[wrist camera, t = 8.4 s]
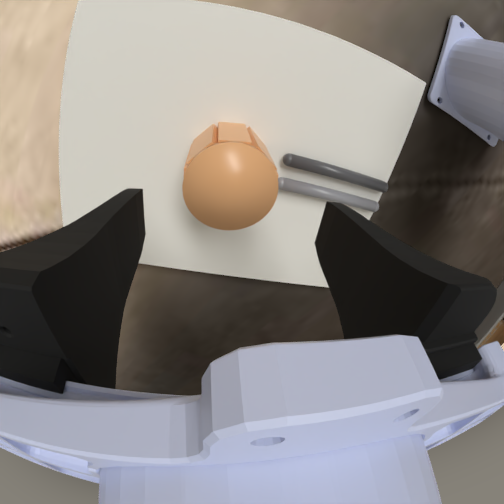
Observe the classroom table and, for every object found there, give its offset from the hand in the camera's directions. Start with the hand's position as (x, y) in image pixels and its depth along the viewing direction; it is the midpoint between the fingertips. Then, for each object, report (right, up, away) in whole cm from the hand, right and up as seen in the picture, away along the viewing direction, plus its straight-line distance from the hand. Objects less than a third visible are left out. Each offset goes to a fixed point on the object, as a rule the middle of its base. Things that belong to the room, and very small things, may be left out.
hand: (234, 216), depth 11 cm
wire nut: (-1, +4, +6) cm, 7 cm away
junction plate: (-1, +5, +6) cm, 8 cm away
